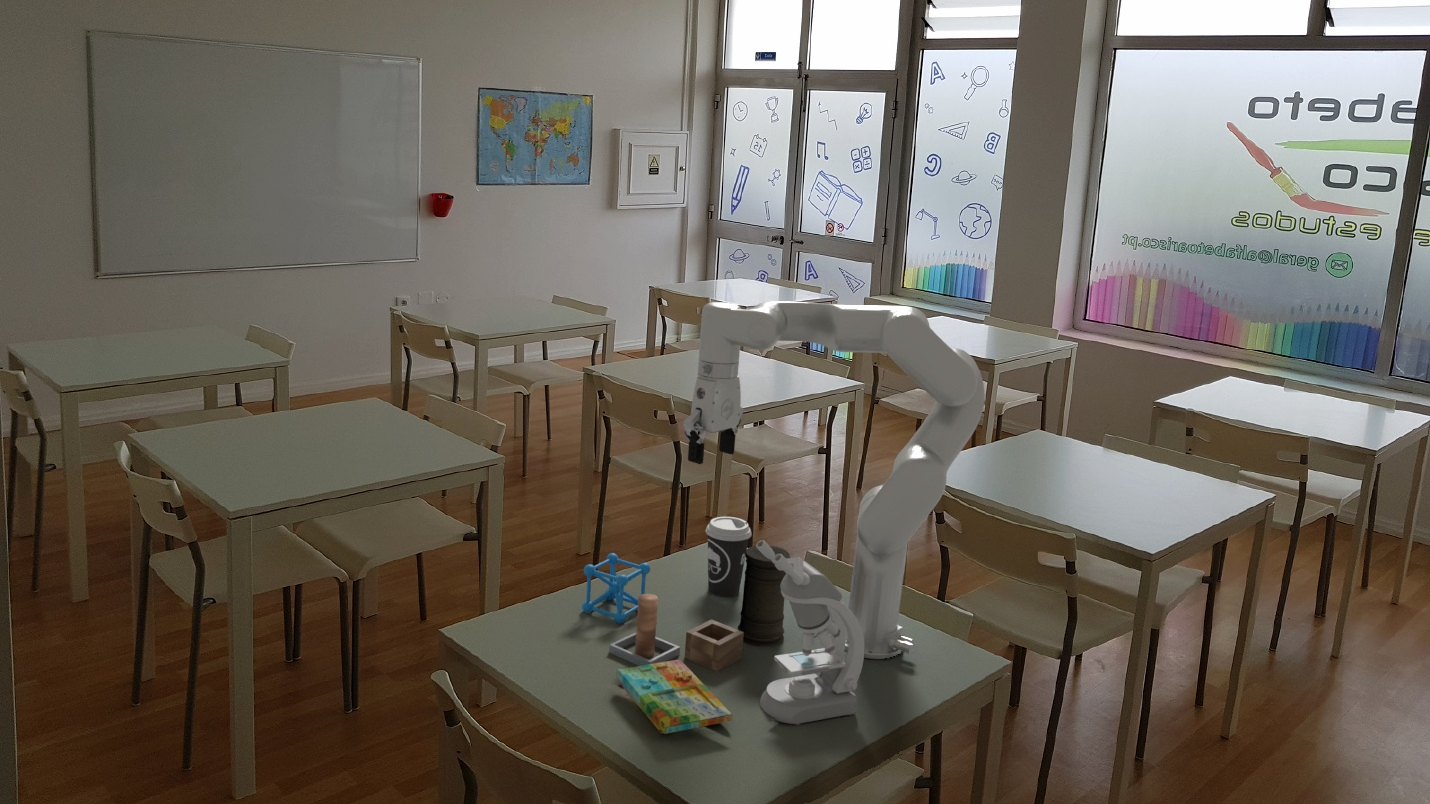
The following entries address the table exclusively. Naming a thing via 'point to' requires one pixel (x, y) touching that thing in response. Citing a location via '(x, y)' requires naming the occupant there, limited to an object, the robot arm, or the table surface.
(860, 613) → the robot arm
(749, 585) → the container
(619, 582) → the molecular structure
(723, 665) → the pin cup
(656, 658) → the tray
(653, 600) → the dowel
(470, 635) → the table surface
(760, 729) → the table surface
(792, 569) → the microscope
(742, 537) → the coffee cup
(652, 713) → the puzzle game
